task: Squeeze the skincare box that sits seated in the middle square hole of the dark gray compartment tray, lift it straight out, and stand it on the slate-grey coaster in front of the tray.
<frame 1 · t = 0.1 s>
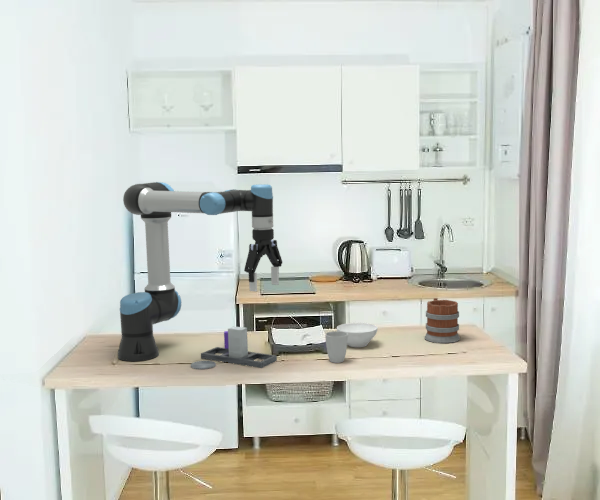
hand: (264, 287, 272), 28 cm above the countertop, fingers open, 13 cm apart
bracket: (235, 346, 303), on the countertop
mug: (440, 337, 308), on the countertop
coaster: (203, 365, 275), on the countertop
cup: (336, 361, 278), on the countertop
dark gray compartment tray: (238, 359, 282), on the countertop
bowl: (357, 345, 299), on the countertop
skincare box: (238, 360, 282), resting in dark gray compartment tray
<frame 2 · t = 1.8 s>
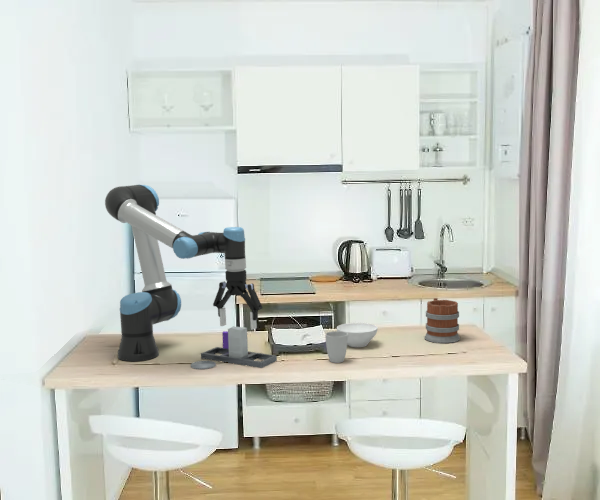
hand: (238, 327, 280), 12 cm above the countertop, fingers open, 13 cm apart
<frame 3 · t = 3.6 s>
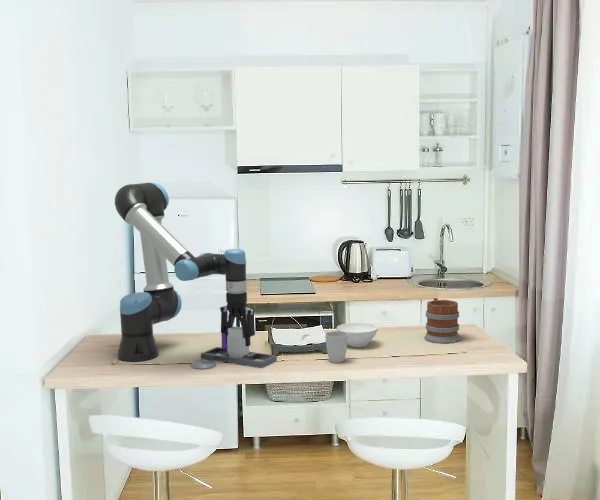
hand: (238, 353, 281), 2 cm above the countertop, fingers closed on skincare box, 6 cm apart
skincare box: (238, 360, 282), resting in dark gray compartment tray, touching gripper
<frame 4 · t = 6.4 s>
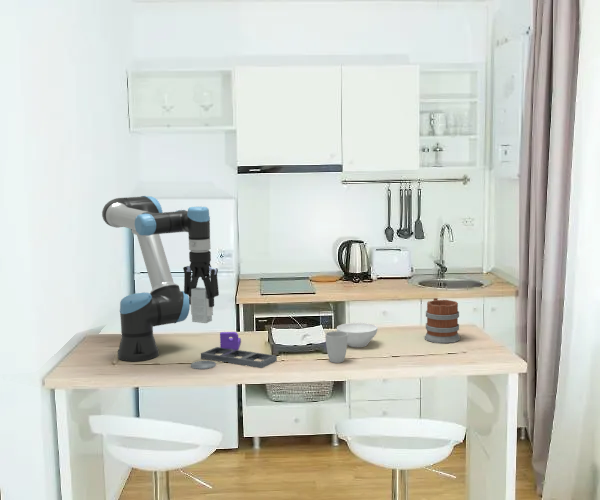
hand: (202, 314, 273), 19 cm above the countertop, fingers closed on skincare box, 6 cm apart
skincare box: (202, 322, 273), point 16 cm above the countertop, touching gripper
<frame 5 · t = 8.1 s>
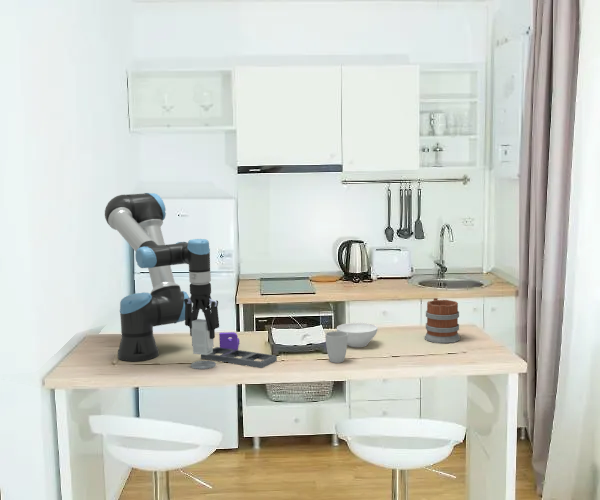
hand: (202, 346, 274), 7 cm above the countertop, fingers closed on skincare box, 6 cm apart
skincare box: (202, 353, 274), point 4 cm above the countertop, touching gripper
when the fingers open (4 cm above the countertop, at t = 9.4 s): skincare box drops 1 cm, resting on coaster.
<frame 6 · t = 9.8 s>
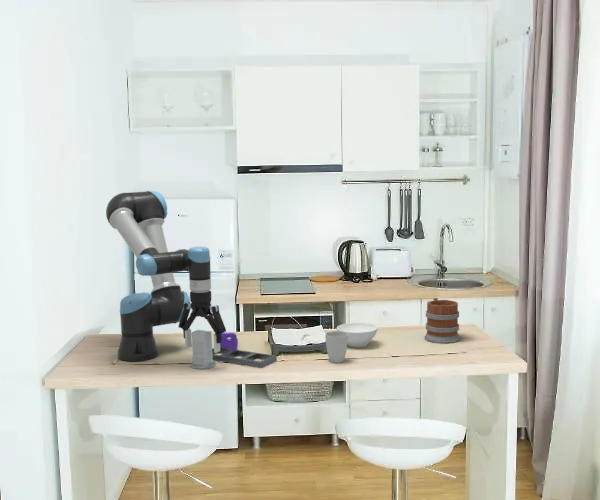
hand: (202, 349, 274), 6 cm above the countertop, fingers open, 12 cm apart
skincare box: (202, 364, 275), resting on coaster
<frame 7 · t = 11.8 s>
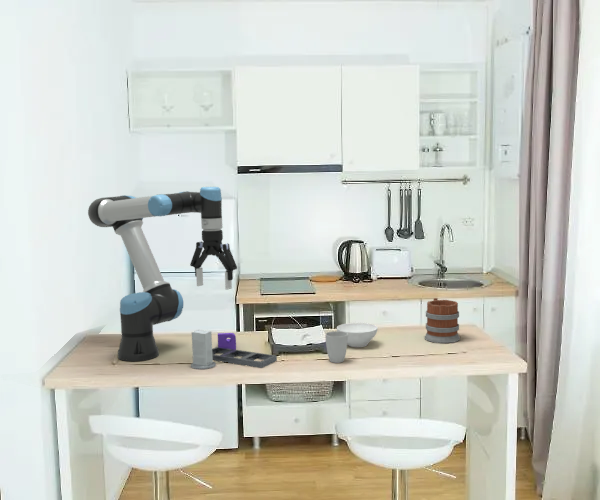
hand: (214, 287, 280), 27 cm above the countertop, fingers open, 13 cm apart
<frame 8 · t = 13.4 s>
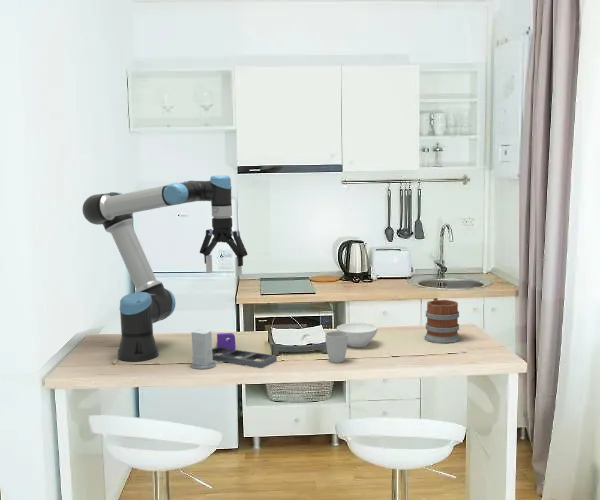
hand: (223, 273, 286), 31 cm above the countertop, fingers open, 13 cm apart
at the end: skincare box inside the target area on the coaster (0.2 cm from its centre), point 0.4 cm above the coaster's base; skincare box tilted 0°; the gripper is holding nothing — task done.
